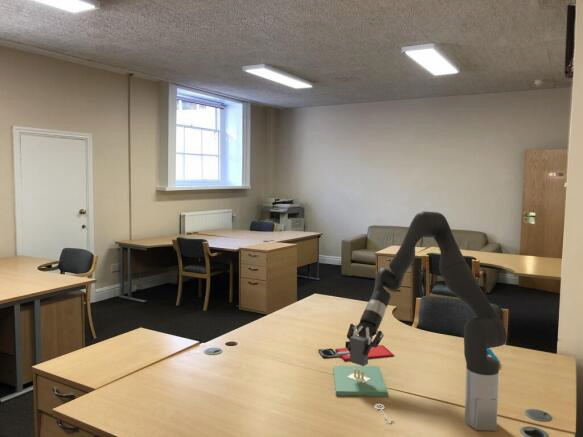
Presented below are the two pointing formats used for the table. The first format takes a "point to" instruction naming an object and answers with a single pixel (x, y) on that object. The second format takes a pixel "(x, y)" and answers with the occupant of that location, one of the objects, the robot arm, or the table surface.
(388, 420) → the key
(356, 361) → the block
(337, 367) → the header board
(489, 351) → the gear
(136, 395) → the table surface
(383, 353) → the red board with handle
